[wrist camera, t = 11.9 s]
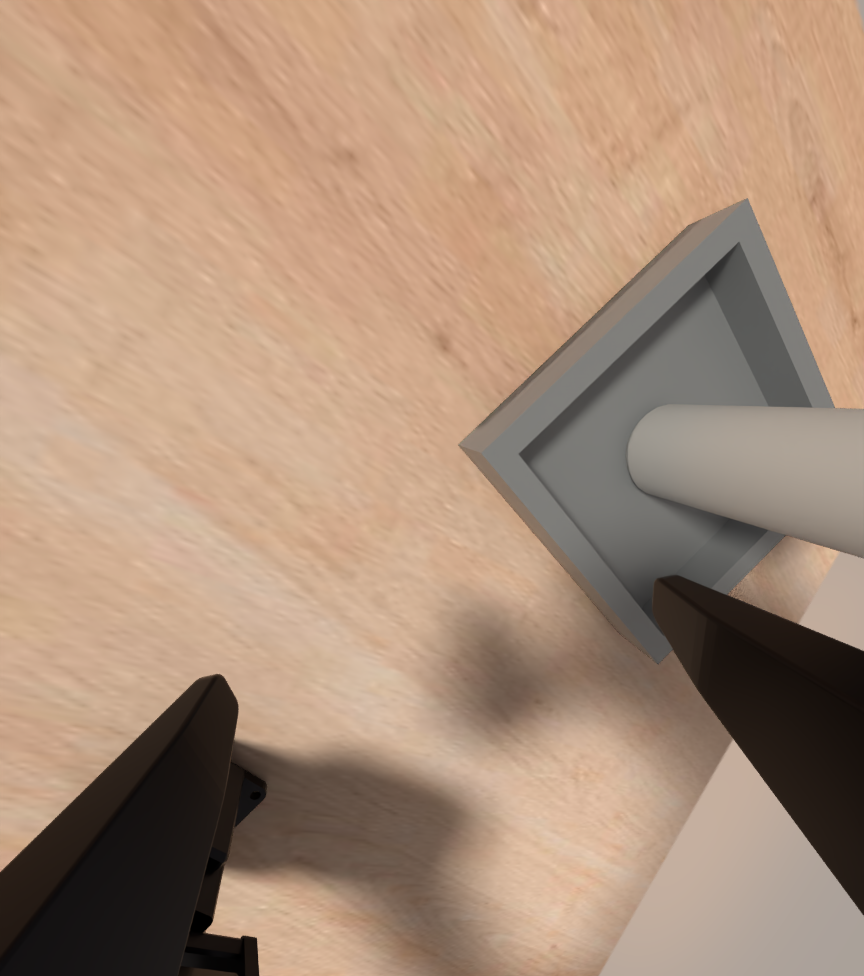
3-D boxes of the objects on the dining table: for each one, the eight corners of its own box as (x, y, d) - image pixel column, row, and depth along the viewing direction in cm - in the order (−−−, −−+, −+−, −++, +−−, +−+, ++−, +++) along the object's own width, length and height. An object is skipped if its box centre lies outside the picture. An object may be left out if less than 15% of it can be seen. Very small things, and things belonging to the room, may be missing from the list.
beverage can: (704, 411, 22) (1103, 427, 11) (680, 497, 23) (1028, 595, 12) (631, 396, 21) (1001, 397, 10) (609, 488, 22) (924, 590, 10)
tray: (620, 633, 25) (657, 664, 22) (458, 444, 20) (481, 453, 17) (798, 455, 26) (857, 462, 23) (688, 225, 20) (747, 198, 18)
